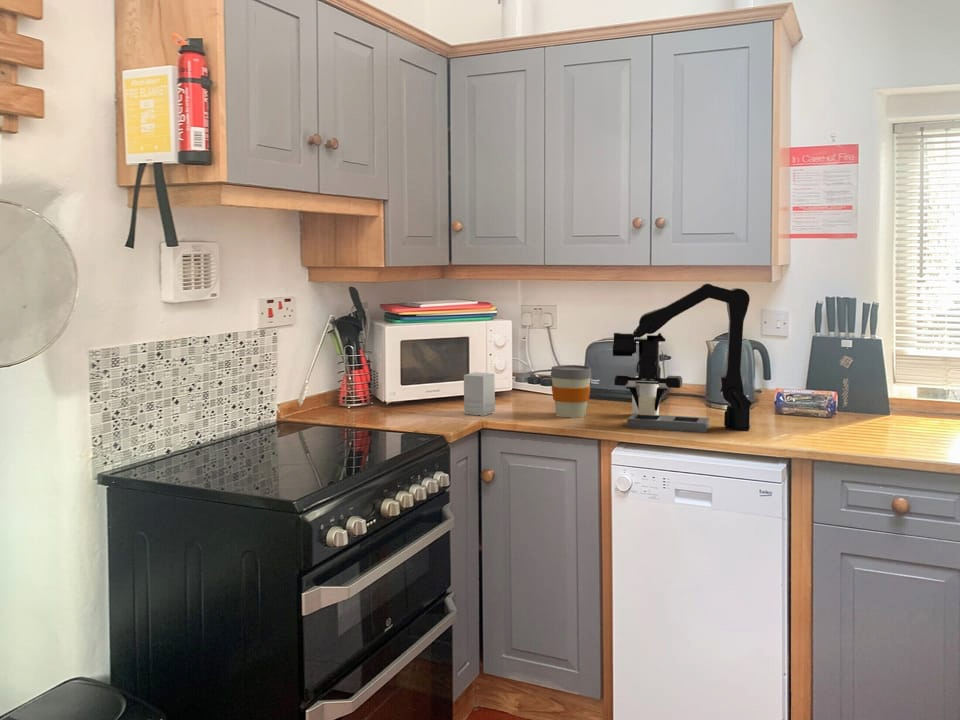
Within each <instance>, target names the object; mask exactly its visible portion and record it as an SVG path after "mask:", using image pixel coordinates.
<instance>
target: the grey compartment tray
mask: <svg viewBox="0 0 960 720" xmlns="http://www.w3.org/2000/svg"><path fill="white" fill-rule="evenodd" d="M626 427H627V428H628V429H629V428H631V429H633V428H634V429H644V428H645V430H647V429H648V430H660V429H663V430H664V431H678V432H690V433H691V432H692V433H694V432H695V433H707V431H708V429H709V427H710V417H703V416H702V417H700V416H699V417H698V416H681V415H667V414H666V415H665V414H659V415H654V416H653V415H639V414H634V413H633V414H632V413H631V415H630V416H629V417H628V418H627V419H626ZM663 430H662V431H663ZM693 431H694V432H693Z"/></svg>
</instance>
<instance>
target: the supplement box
mask: <svg viewBox="0 0 960 720" xmlns="http://www.w3.org/2000/svg"><path fill="white" fill-rule="evenodd" d="M495 385H496V384H495V373H489V372H471V373H468V374H467V373H466V374H464V375H463V409H464V410H463V411H464V415H468V414H470V416H478V415H480V416H479V417H485V416H488V415H487V414H489V415H491V414H490V413H492V414H494V413H493V412H495V413H496V401H495V400H496V398H495V397H496V396H495V395H496V393H495V389H496V387H495ZM484 415H485V416H484Z"/></svg>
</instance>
